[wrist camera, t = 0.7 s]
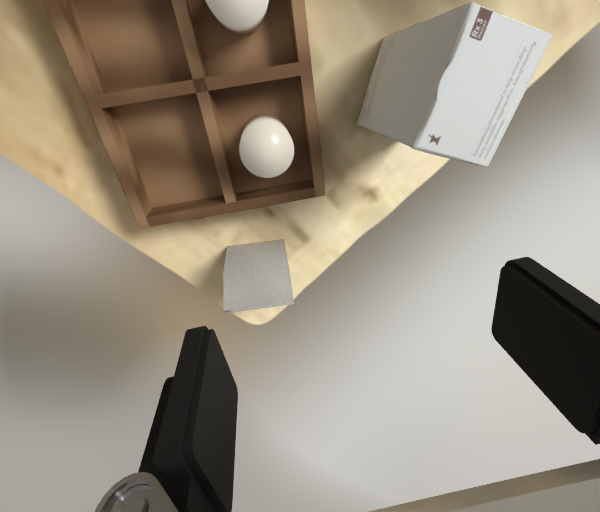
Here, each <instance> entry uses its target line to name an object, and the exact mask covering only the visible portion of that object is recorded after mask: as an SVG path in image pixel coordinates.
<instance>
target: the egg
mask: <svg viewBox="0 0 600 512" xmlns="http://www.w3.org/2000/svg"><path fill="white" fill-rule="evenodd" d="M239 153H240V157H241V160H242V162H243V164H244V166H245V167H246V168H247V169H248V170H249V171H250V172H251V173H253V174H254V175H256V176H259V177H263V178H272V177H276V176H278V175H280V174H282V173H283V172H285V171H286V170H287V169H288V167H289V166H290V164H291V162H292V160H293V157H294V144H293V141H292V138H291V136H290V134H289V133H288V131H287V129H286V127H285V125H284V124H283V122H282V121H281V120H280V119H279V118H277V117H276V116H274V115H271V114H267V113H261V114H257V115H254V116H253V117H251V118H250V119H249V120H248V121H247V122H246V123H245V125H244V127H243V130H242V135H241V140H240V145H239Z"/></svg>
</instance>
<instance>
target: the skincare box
mask: <svg viewBox="0 0 600 512" xmlns="http://www.w3.org/2000/svg"><path fill="white" fill-rule="evenodd" d="M552 36H553V35H552V34H550V33H548V32H545V31H543V30H541V29H538V28H535V27H533V26H530V25H528V24H525V23H522V22H520V21H517V20H515V19H512V18H510V17H507V16H505V15H502V14H500V13H498V12H495V11H493V10H491V9H488V8H486V7H484V6H481V5H479V4H477V3H474V2H470V3H468V4H466V5H463V6H461V7H458V8H456V9H453V10H451V11H449V12H446V13H444V14H441V15H439V16H436V17H434V18H431V19H429V20H426V21H423V22H421V23H419V24H416V25H414V26H411V27H409V28H406V29H404V30H401V31H399V32H396V33H394V34H391V35H389V36H386V37H384V39H383V42H382V44H381V47H380V50H379V54H378V57H377V60H376V63H375V66H374V69H373V72H372V75H371V79H370V82H369V85H368V88H367V91H366V94H365V98H364V101H363V105H362V109H361V112H360V115H359V118H358V121H357V125H359V126H361V127H364V128H366V129H369V130H371V131H374V132H376V133H379V134H381V135H384V136H386V137H388V138H391V139H393V140H396V141H398V142H401V143H403V144H405V145H408V146H410V147H411V148H413V149H415V150H419V151H423V152H426V153H430V154H434V155H438V156H442V157H446V158H450V159H454V160H458V161H462V162H466V163H471V164H476V165H480V166H484V167H487V166H488V165H489V163H490V161H491V159H492V157H493V155H494V153H495V151H496V149H497V147H498V145H499V143H500V141H501V139H502V137H503V135H504V133H505V131H506V129H507V126H508V125H509V123H510V121H511V118H512V117H513V115H514V113H515V111H516V109H517V107H518V105H519V103H520V101H521V99H522V97H523V95H524V93H525V91H526V89H527V87H528V85H529V83H530V81H531V78H532V76H533V74H534V72H535V70H536V68H537V66H538V64H539V62H540V60H541V58H542V56H543V54H544V52H545V50H546V48H547V47H548V45H549V43H550V40H551V38H552Z"/></svg>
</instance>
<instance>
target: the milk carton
mask: <svg viewBox="0 0 600 512" xmlns="http://www.w3.org/2000/svg"><path fill="white" fill-rule="evenodd" d="M290 304H294V300H293V293H292V286H291V280H290V273H289V266H288V260H287V254H286V249H285V243H284V239H283V240H275V241H267V242H259V243H250V244H242V245H234V246H227V251H226V257H225V264H224V270H223V310H224V313H231V312H238V311H246V310H253V309H261V308H268V307H275V306H283V305H290Z"/></svg>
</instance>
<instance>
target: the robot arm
mask: <svg viewBox="0 0 600 512" xmlns="http://www.w3.org/2000/svg"><path fill="white" fill-rule="evenodd" d="M492 334H493V336H494V338H495V340H496V341H497V342H498V343H499V344H500V345H501V346H502V348H503V349H504V350H505V351H506V352H507V353H508V354H509V355H510V356H511V357H512V358H513V360H514V361H515V362H516V363H517V364H518V365H519V366H520V367H521V369H522V370H523V371H524V372H525V373H526V374H527V375H528V376H529V377H530V379H531V380H532V381H533V382H534V383H535V384H536V385H537V386H538V387H539V389H541V391H542V392H543V393H544V394H545V395H546V396H547V397H548V398H549V400H550V401H551V402H552V403H553V404H554V405H555V406H556V407H557V408H558V410H559V411H560V412H561V413H562V414H563V415H564V416H565V417H566V418H567V420H568V421H569V422H570V423H571V424H572V425H573V426H574V427H575V428H576V429H577V430H578V431H579V432H581V433H585V434H586V435H587V436H588V437H589V438H590V439H591V440H592V441H593V442H594V443H595V444H600V304H598V303H597V302H595V301H594V300H592V299H591V298H589V297H588V296H586V295H585V294H583V293H582V292H580V291H579V290H578V289H576V288H575V287H573V286H571V285H570V284H569V283H567V282H566V281H564V280H563V279H561V278H559V277H558V276H557V275H555V274H554V273H552V272H551V271H549V270H548V269H546V268H545V267H543V266H541V265H540V264H539V263H537V262H536V261H534V260H533V259H531V258H529V257H524V258H519V259H515V260H510V261H507V262H506V264H505V266H504V267H502V269H501V272H500V278H499V285H498V292H497V298H496V304H495V310H494V317H493V323H492ZM237 401H238V392H237V386H236V383H235V381H234V379H233V376H232V374H231V371H230V369H229V366H228V364H227V361H226V359H225V356H224V354H223V351H222V349H221V346H220V344H219V341H218V339H217V336H216V334H215V332H214V330H213V329H210V330H208V328H207V327H206V326H202V327H197V328H193V329H188V330H187V331H186V333H185V337H184V341H183V345H182V348H181V352H180V356H179V360H178V364H177V367H176V371H175V375H174V377H169V378H167V380H166V381H165V383H164V386H163V389H162V392H161V396H160V399H159V403H158V406H157V410H156V413H155V417H154V420H153V424H152V427H151V430H150V434H149V437H148V441H147V445H146V448H145V451H144V454H143V458H142V461H141V465H140V468H139V472H138V473H134V474H131V475H129V476H127V477H124V478H123V479H122V480H120V481H119V482H117V483H116V484H115V485H114V486H113V487H112V488H111V489H110V490H109V491H108V492H107V493H106V494H105V495H104V497H103V498H102V500H101V501H100V503H99V504H98V506H97V508H96V511H95V512H231V510H232V499H233V479H234V478H233V477H234V460H235V459H234V458H235V440H236V420H237ZM370 512H600V459H598V460H593V461H589V462H585V463H580V464H576V465H571V466H567V467H562V468H558V469H553V470H549V471H544V472H540V473H535V474H531V475H526V476H522V477H517V478H513V479H509V480H504V481H500V482H495V483H491V484H487V485H482V486H478V487H474V488H469V489H465V490H460V491H456V492H452V493H447V494H443V495H439V496H434V497H430V498H426V499H421V500H417V501H412V502H408V503H404V504H400V505H395V506H391V507H387V508H383V509H378V510H374V511H370Z"/></svg>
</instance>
